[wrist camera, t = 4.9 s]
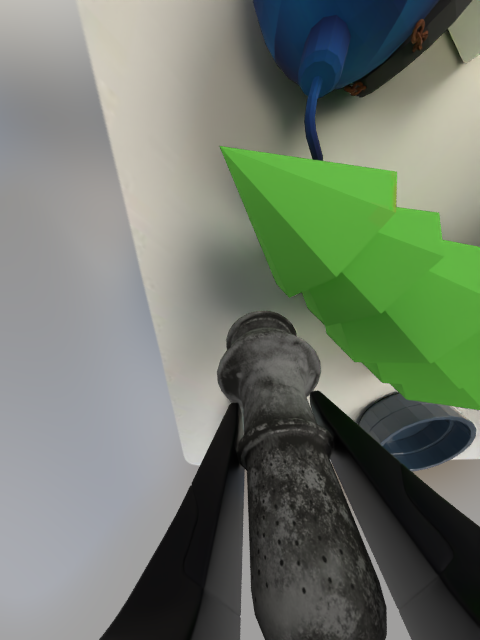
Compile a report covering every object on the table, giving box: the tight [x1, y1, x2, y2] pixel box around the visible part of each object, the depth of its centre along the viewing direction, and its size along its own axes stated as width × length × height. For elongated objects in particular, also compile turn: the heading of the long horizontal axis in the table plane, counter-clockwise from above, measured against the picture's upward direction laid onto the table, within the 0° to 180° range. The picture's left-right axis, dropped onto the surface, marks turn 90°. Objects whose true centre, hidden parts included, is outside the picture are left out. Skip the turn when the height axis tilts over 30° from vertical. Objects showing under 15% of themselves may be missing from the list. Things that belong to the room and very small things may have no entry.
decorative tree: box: [220, 146, 480, 410], centre depth 14 cm, size 11×12×30 cm
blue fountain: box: [359, 393, 476, 471], centre depth 27 cm, size 13×13×4 cm
